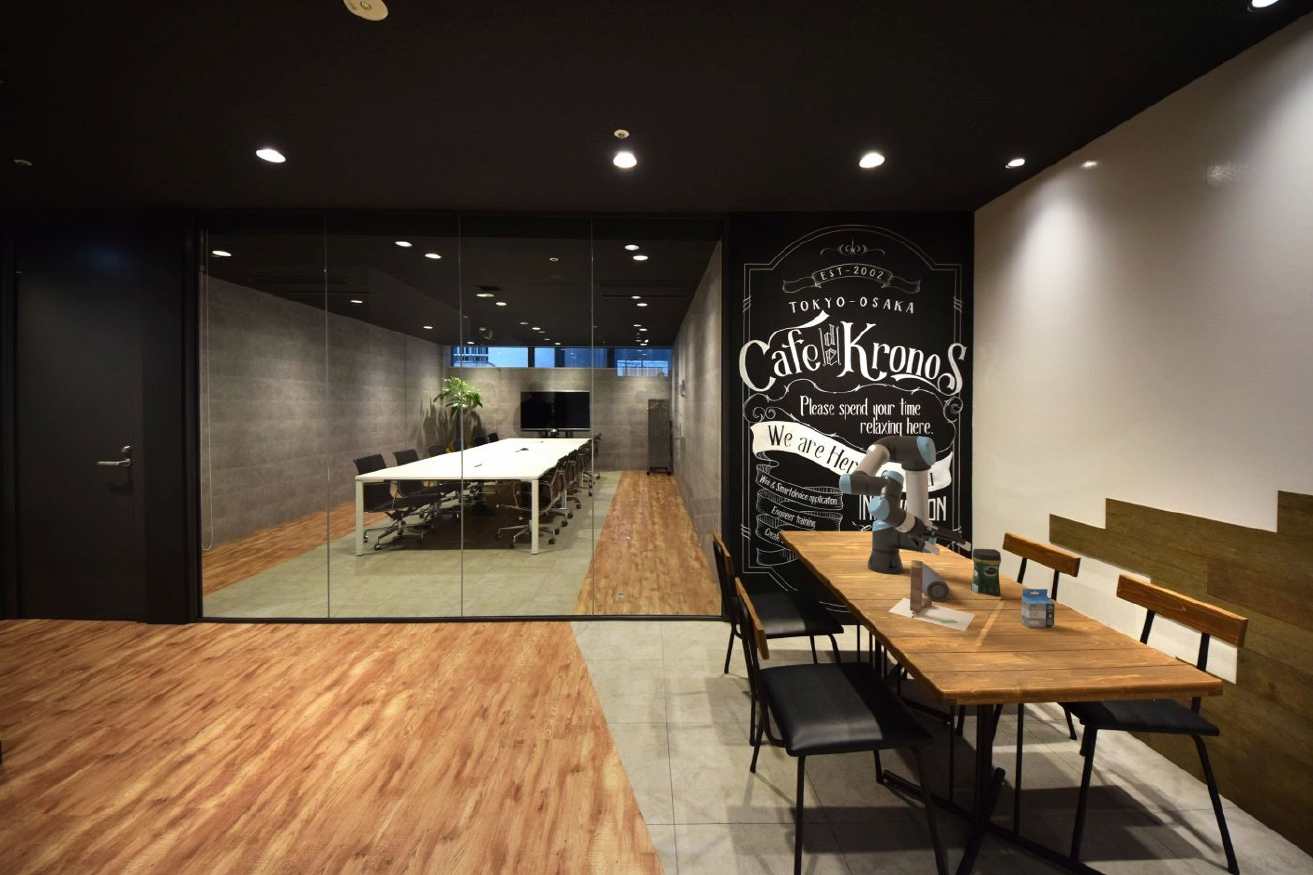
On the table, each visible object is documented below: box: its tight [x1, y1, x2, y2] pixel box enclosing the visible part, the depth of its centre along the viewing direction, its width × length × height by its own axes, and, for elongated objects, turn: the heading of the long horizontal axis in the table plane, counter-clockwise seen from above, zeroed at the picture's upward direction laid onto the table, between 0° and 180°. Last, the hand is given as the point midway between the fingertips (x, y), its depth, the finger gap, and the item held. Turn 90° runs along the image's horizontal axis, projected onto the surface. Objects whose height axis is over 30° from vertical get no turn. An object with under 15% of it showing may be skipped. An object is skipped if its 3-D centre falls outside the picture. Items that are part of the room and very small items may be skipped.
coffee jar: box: [970, 548, 1002, 598], centre depth 206 cm, size 10×8×19 cm
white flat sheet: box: [888, 597, 976, 632], centre depth 184 cm, size 24×18×2 cm
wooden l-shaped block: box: [909, 559, 933, 615], centre depth 186 cm, size 16×5×19 cm, turn 138°
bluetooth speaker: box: [909, 563, 951, 602], centre depth 206 cm, size 23×9×10 cm, turn 168°
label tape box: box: [1020, 588, 1056, 628], centre depth 177 cm, size 9×4×12 cm, turn 89°
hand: (953, 549), depth 189 cm, fingers open, 13 cm apart
